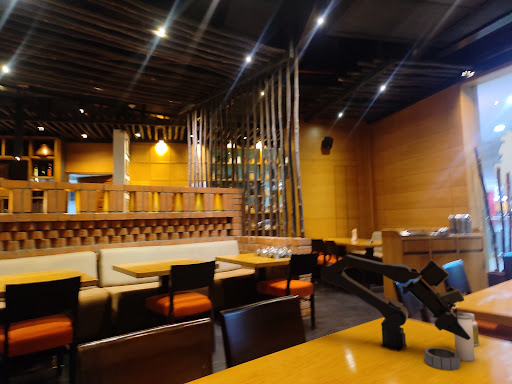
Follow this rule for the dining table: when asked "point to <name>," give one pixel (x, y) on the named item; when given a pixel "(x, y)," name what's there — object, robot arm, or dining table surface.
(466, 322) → the duct sleeve
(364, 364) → the dining table surface
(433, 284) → the robot arm
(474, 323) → the supplement bottle
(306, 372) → the dining table surface
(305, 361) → the dining table surface
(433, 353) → the collar
